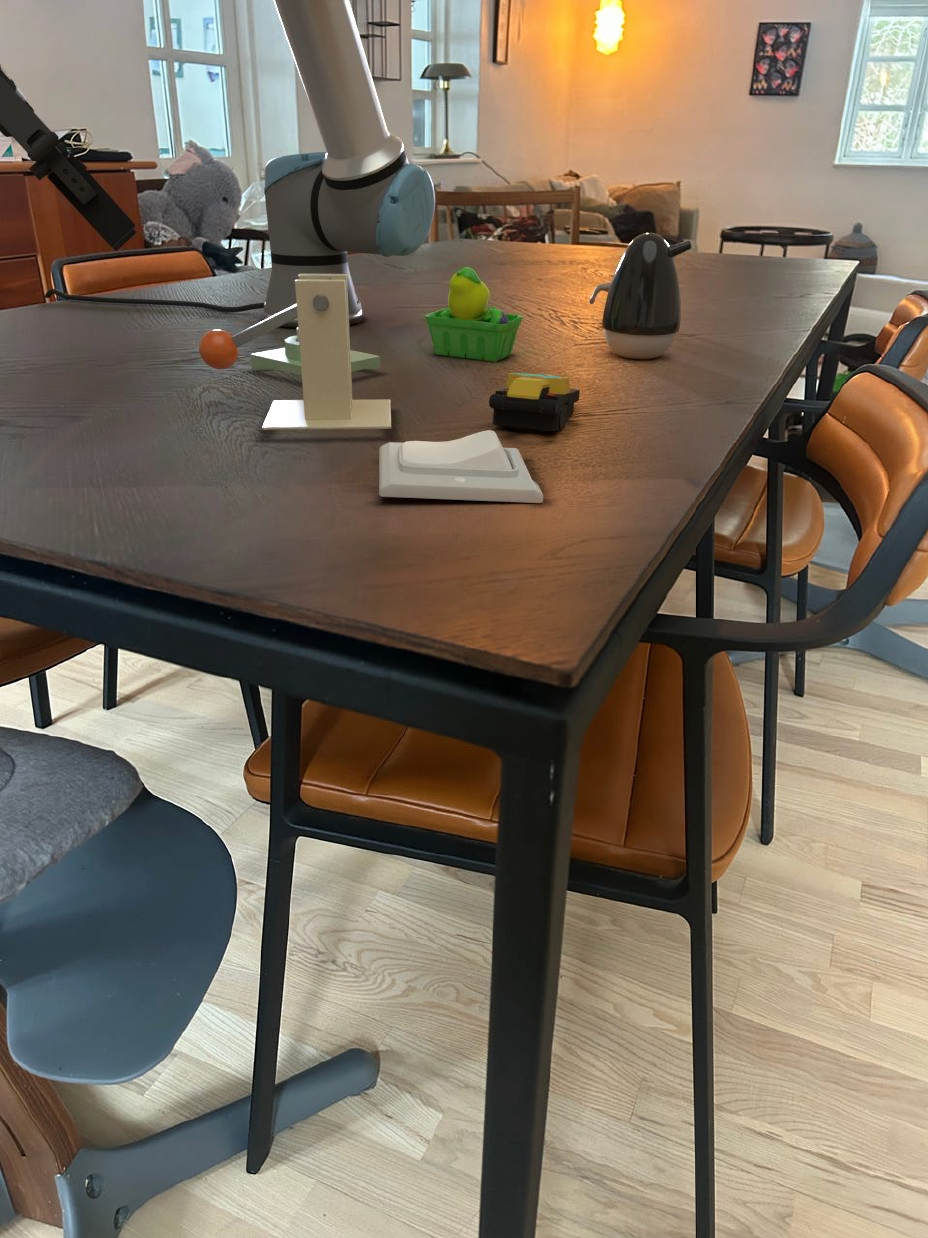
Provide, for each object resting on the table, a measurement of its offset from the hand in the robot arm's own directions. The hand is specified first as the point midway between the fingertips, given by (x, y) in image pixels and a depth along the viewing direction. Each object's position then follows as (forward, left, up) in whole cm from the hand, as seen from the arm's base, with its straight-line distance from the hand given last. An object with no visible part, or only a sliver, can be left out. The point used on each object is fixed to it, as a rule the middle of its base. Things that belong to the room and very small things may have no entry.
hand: (125, 239), depth 78 cm
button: (-5, +26, -13) cm, 29 cm away
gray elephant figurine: (+6, +80, -17) cm, 82 cm away
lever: (+10, +9, -9) cm, 16 cm away
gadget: (+29, +25, -17) cm, 41 cm away
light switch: (+33, +8, -17) cm, 38 cm away
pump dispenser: (+18, +63, -17) cm, 67 cm away
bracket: (+13, +12, -17) cm, 24 cm away
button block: (-5, +26, -17) cm, 31 cm away
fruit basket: (+2, +47, -17) cm, 50 cm away
